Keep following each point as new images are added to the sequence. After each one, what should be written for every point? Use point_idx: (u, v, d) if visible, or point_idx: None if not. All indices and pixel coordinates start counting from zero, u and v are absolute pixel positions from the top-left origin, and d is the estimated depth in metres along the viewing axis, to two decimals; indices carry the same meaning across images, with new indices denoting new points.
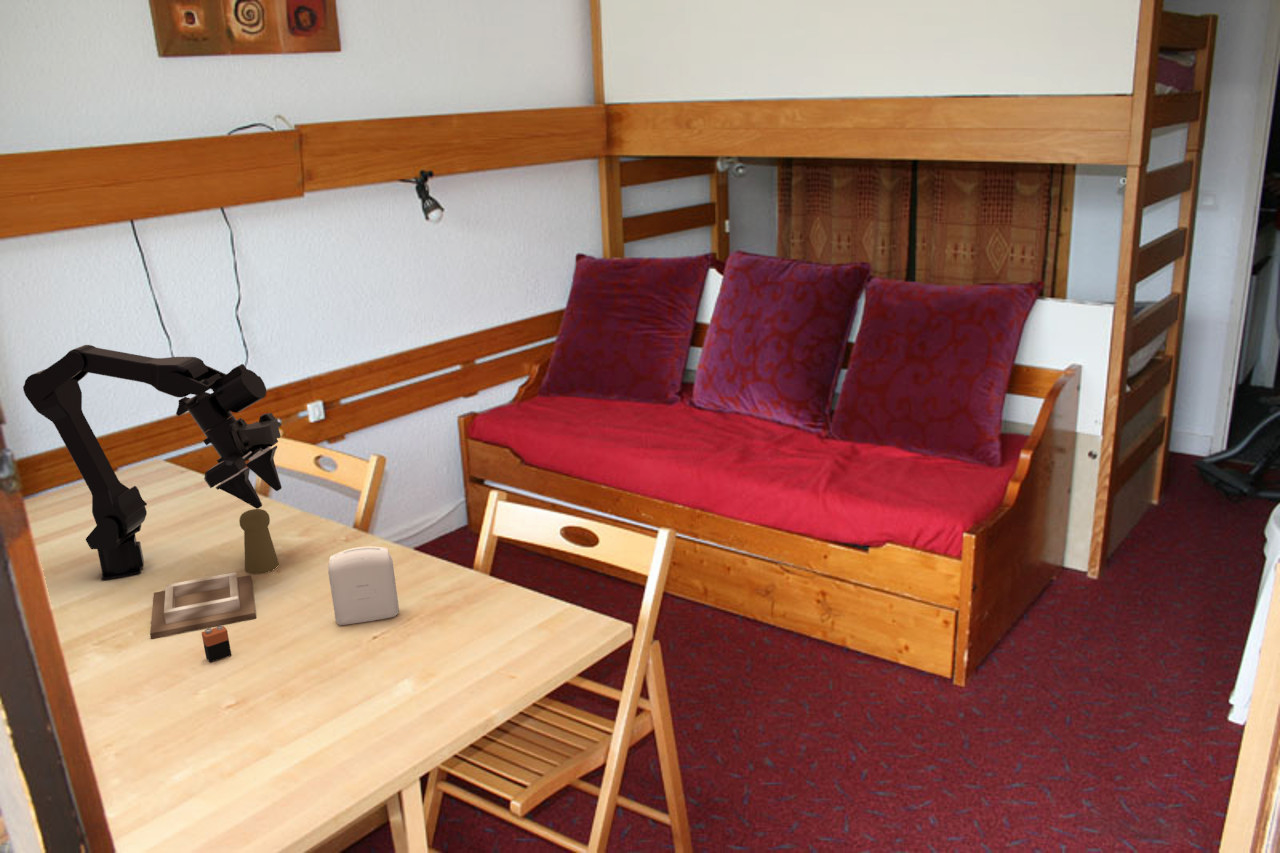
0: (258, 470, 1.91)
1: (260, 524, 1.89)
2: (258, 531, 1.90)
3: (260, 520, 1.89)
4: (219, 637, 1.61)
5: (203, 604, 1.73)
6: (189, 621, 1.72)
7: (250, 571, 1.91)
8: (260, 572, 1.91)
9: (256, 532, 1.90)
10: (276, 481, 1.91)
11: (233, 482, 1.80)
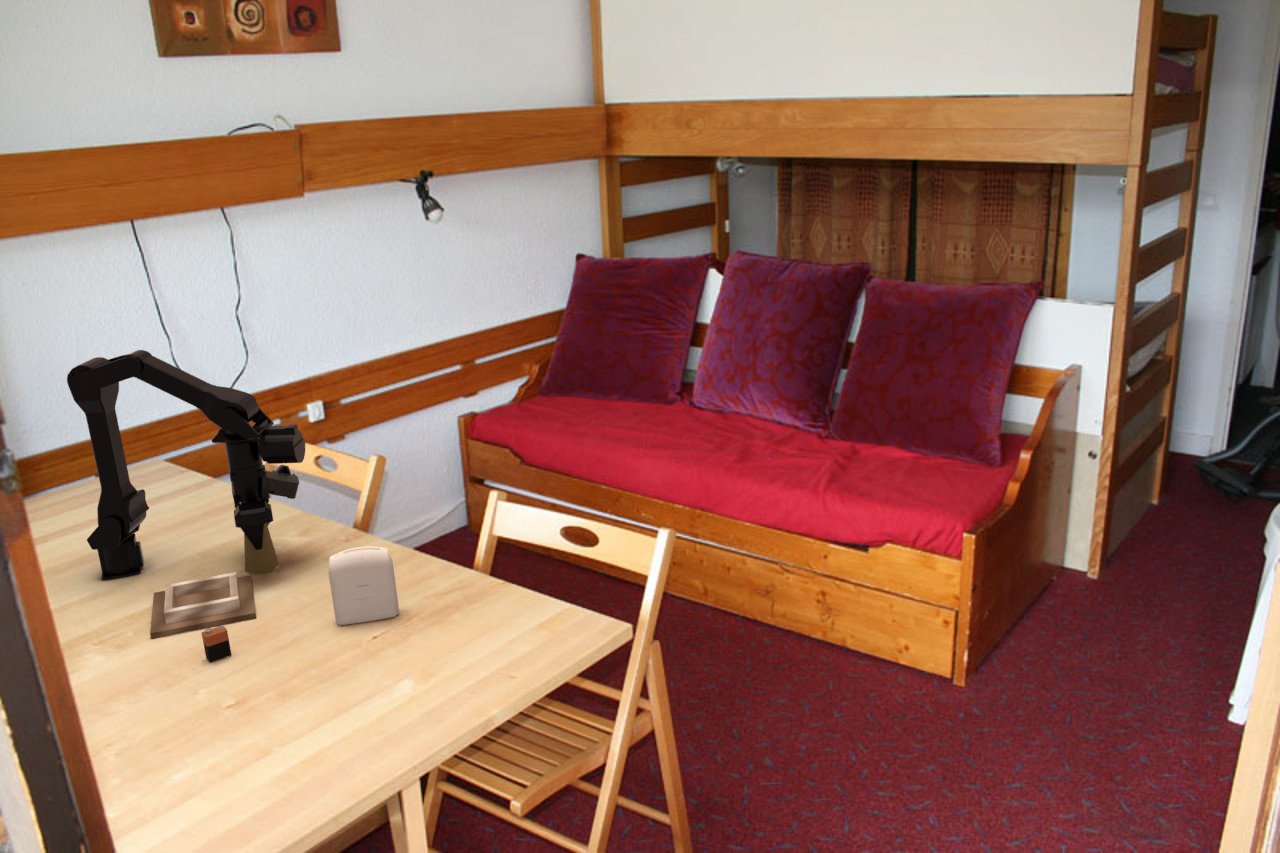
0: None
1: None
2: None
3: None
4: (219, 637, 1.61)
5: (203, 604, 1.73)
6: (189, 621, 1.72)
7: (250, 571, 1.91)
8: (260, 572, 1.91)
9: None
10: None
11: None
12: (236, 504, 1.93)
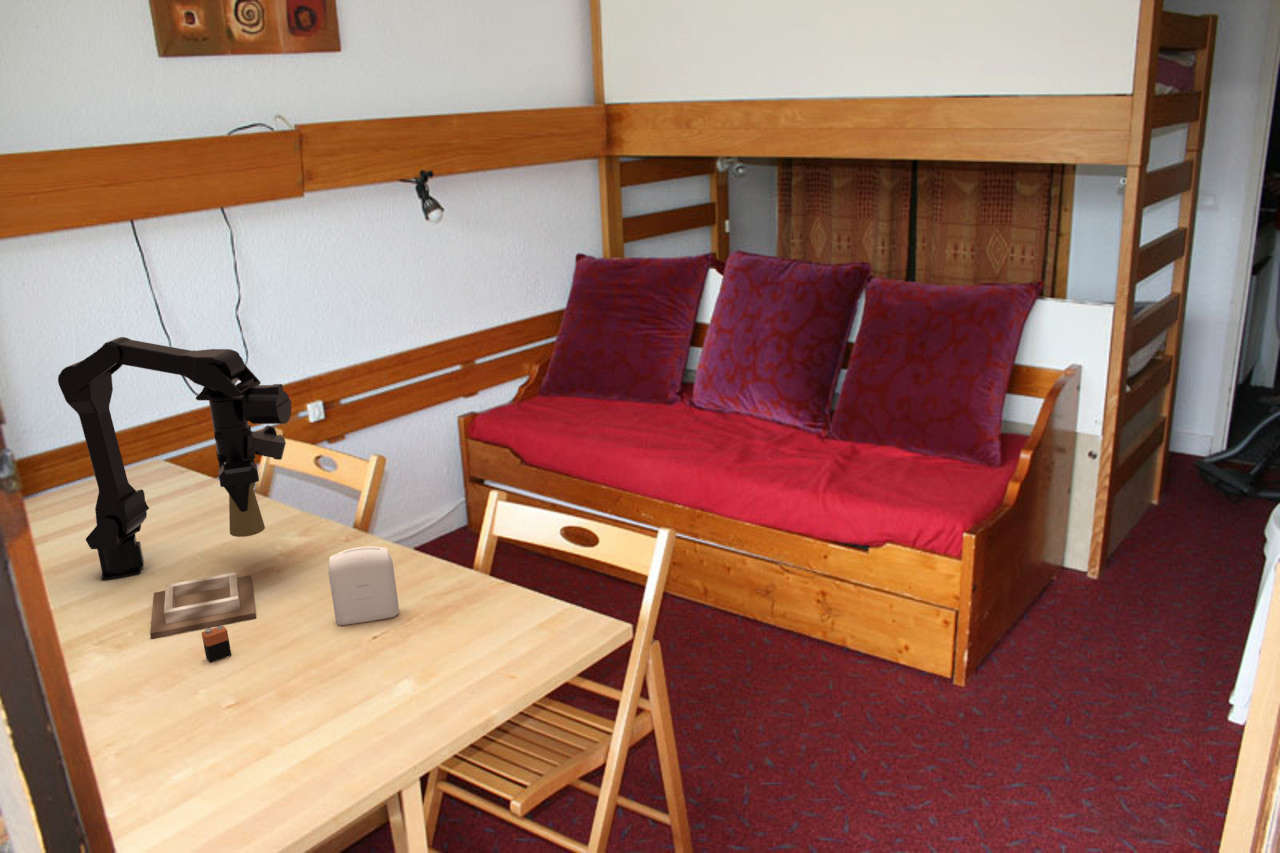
0: None
1: None
2: None
3: None
4: (219, 637, 1.61)
5: (203, 604, 1.73)
6: (189, 621, 1.72)
7: (235, 534, 1.87)
8: (245, 535, 1.86)
9: None
10: None
11: None
12: (221, 465, 1.88)
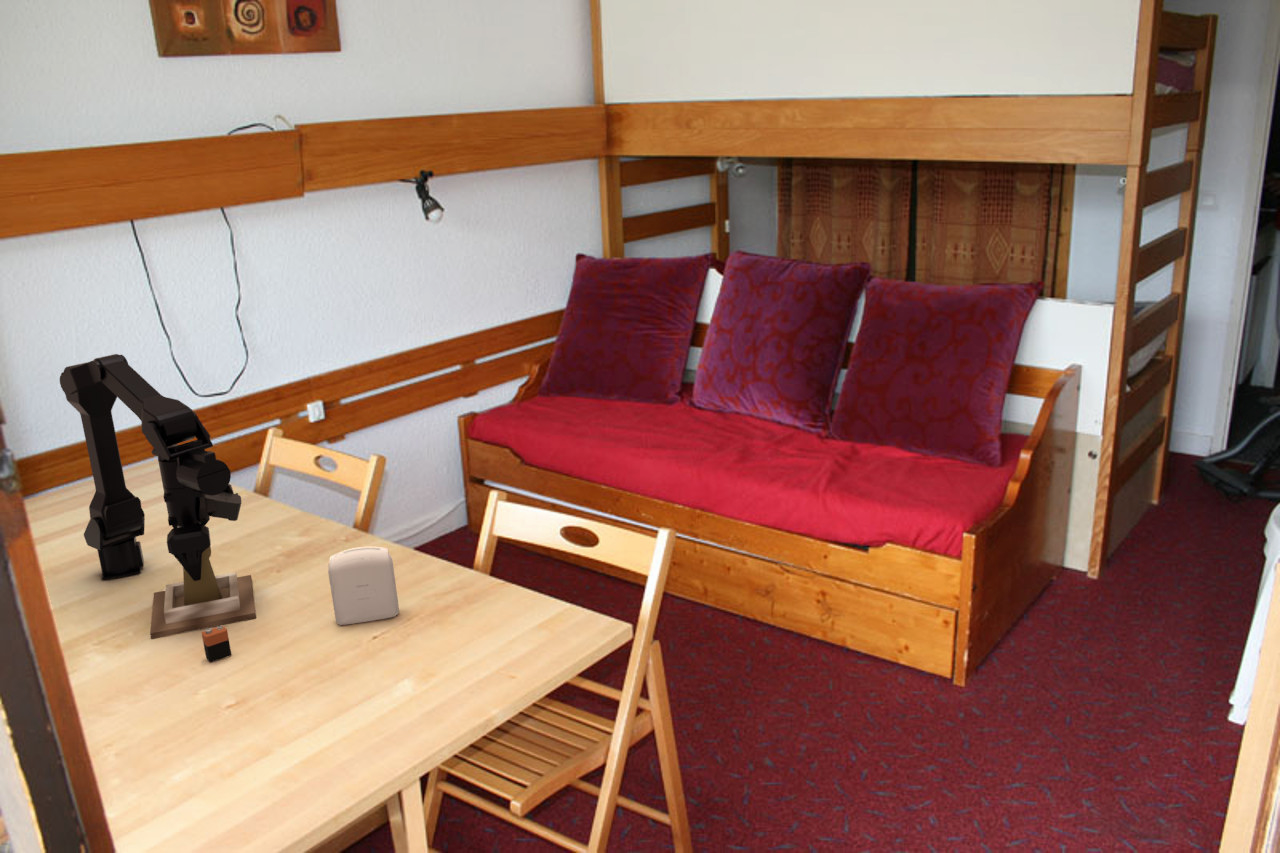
0: None
1: None
2: None
3: None
4: (219, 637, 1.61)
5: (203, 604, 1.73)
6: (189, 621, 1.72)
7: None
8: None
9: None
10: None
11: None
12: None
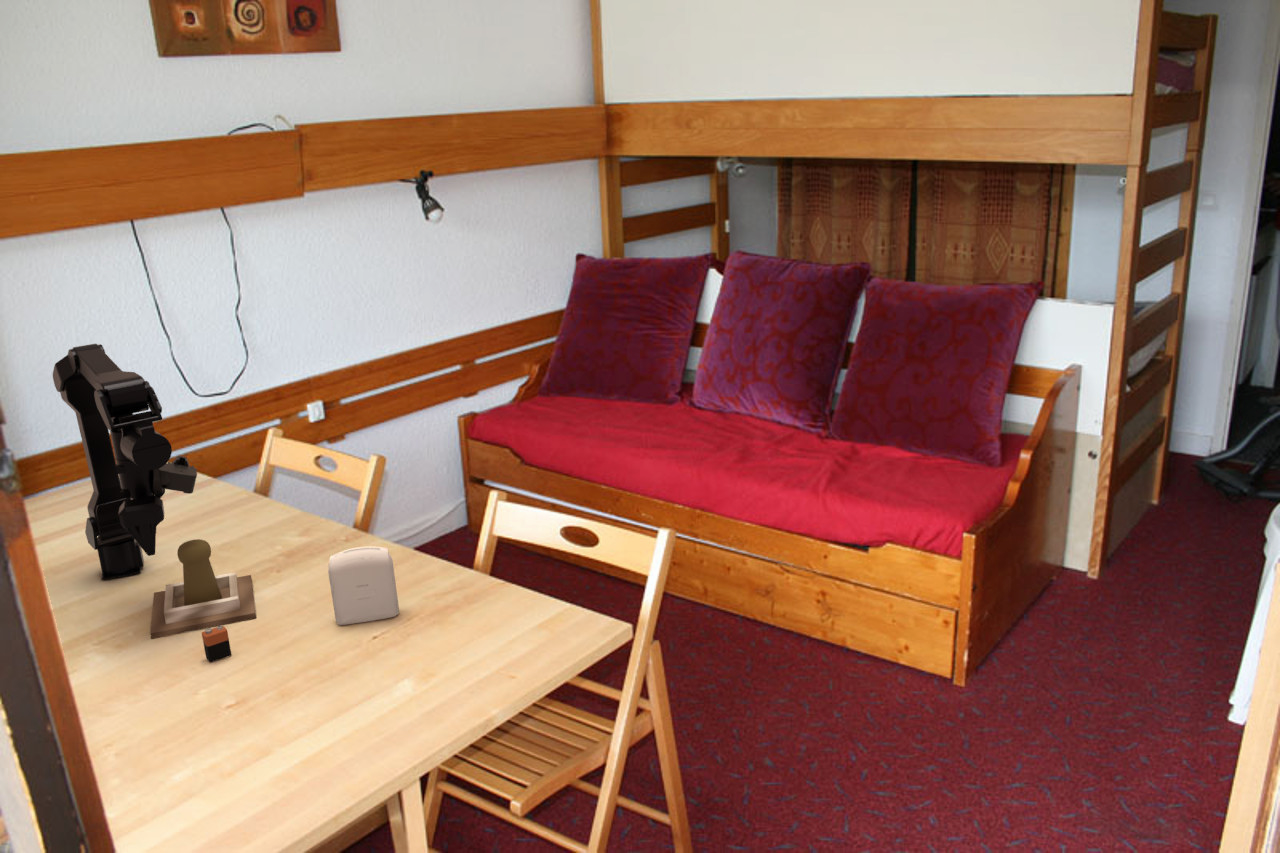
0: None
1: (200, 556, 1.74)
2: (197, 564, 1.75)
3: (200, 551, 1.74)
4: (219, 637, 1.61)
5: (203, 604, 1.73)
6: (189, 621, 1.72)
7: None
8: None
9: (196, 564, 1.75)
10: None
11: None
12: None
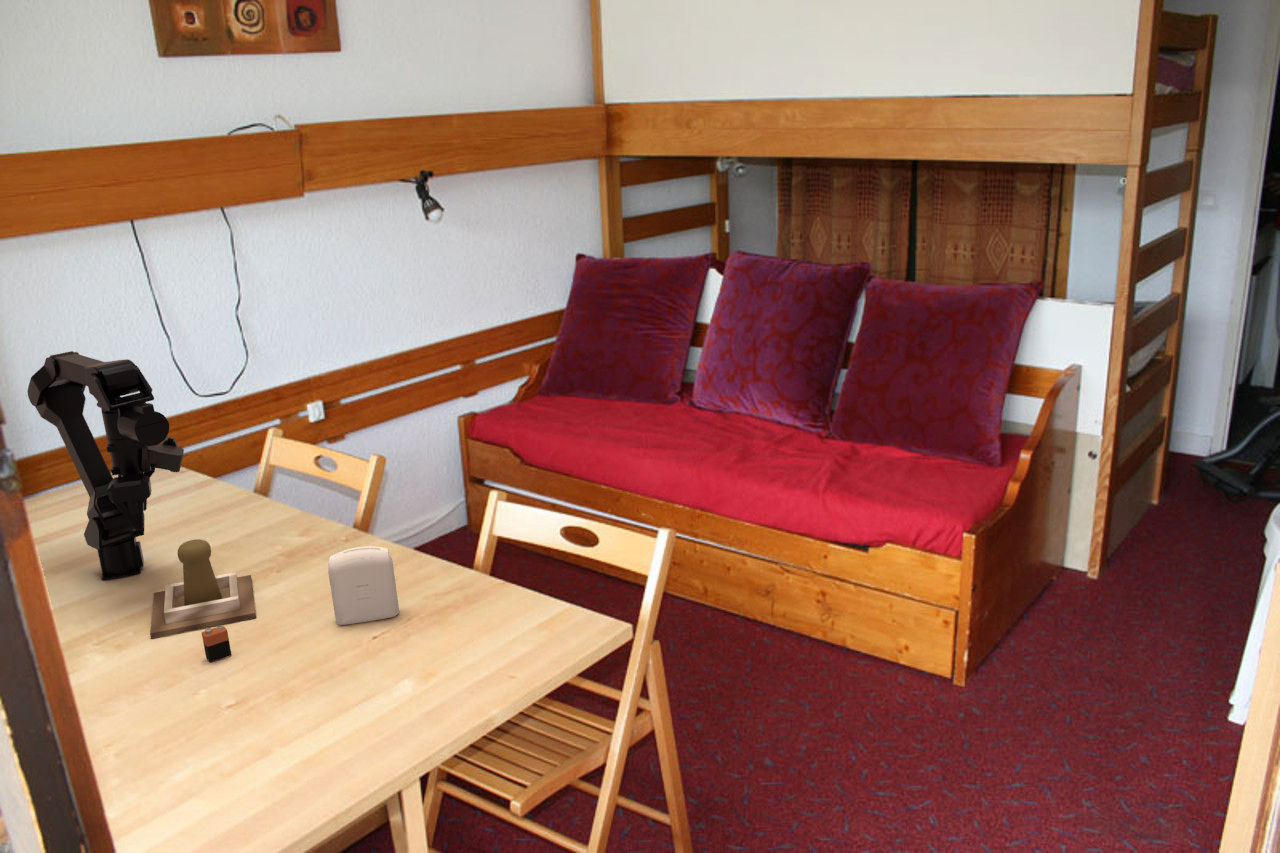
0: None
1: (201, 556, 1.74)
2: (198, 564, 1.75)
3: (200, 551, 1.74)
4: (219, 637, 1.61)
5: (203, 604, 1.73)
6: (189, 621, 1.72)
7: None
8: None
9: (196, 564, 1.75)
10: (144, 502, 1.87)
11: None
12: (120, 473, 1.86)
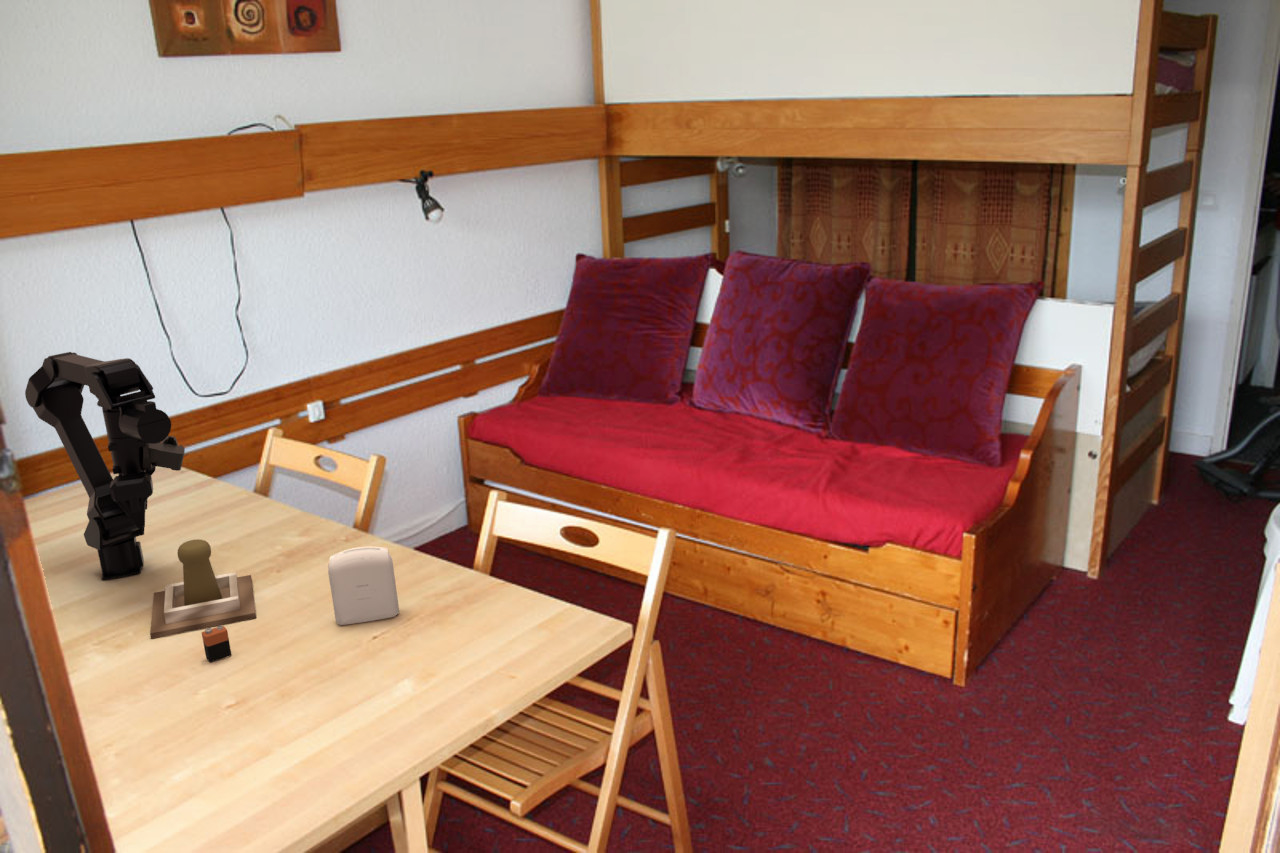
0: None
1: (200, 556, 1.74)
2: (198, 564, 1.75)
3: (200, 551, 1.74)
4: (219, 637, 1.61)
5: (203, 604, 1.73)
6: (189, 621, 1.72)
7: None
8: None
9: (196, 564, 1.75)
10: (145, 501, 1.87)
11: None
12: (120, 473, 1.86)
